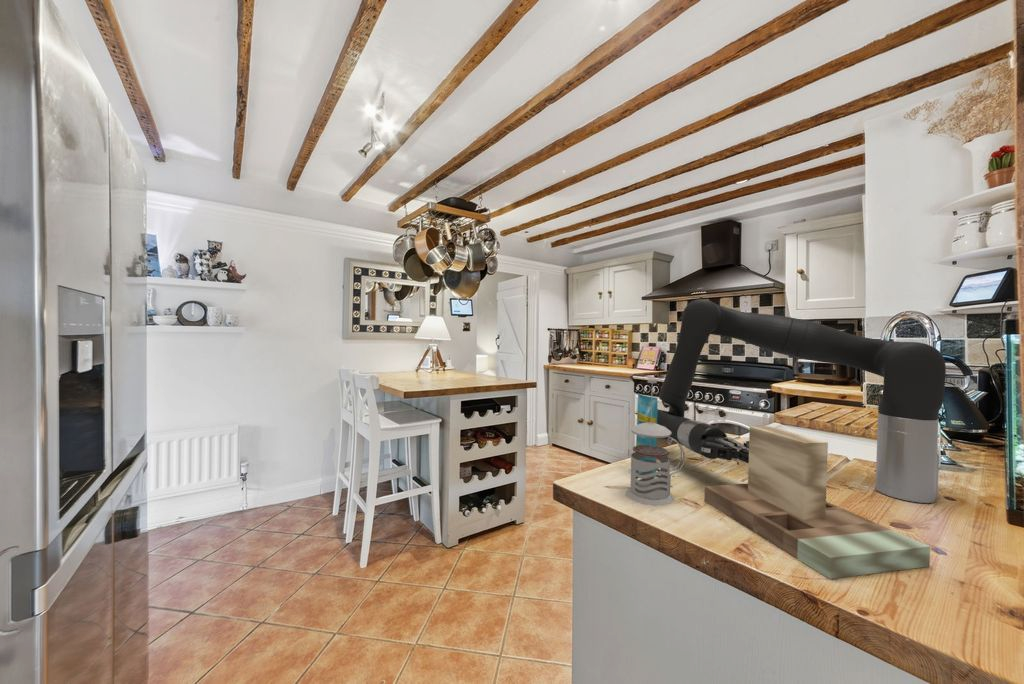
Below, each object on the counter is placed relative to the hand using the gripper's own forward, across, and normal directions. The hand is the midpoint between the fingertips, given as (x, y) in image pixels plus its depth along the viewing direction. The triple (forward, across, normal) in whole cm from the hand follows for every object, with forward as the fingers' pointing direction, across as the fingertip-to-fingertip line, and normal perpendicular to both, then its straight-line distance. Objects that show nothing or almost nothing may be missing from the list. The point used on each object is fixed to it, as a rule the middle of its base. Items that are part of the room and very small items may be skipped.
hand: (758, 460), depth 78 cm
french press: (-8, -18, +9) cm, 22 cm away
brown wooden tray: (+9, 0, +9) cm, 13 cm away
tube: (-20, -13, +9) cm, 25 cm away
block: (+6, 0, +6) cm, 9 cm away
